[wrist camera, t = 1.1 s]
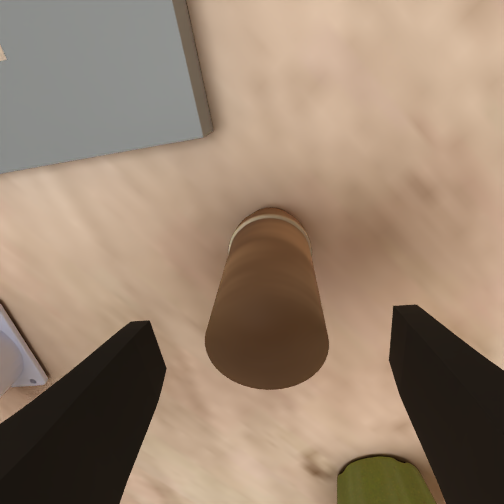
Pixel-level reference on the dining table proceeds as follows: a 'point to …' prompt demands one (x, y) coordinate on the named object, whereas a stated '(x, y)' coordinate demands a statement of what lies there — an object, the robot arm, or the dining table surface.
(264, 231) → the walnut peg
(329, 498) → the dining table surface
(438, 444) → the robot arm
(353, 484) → the plant pot
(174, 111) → the hole board
